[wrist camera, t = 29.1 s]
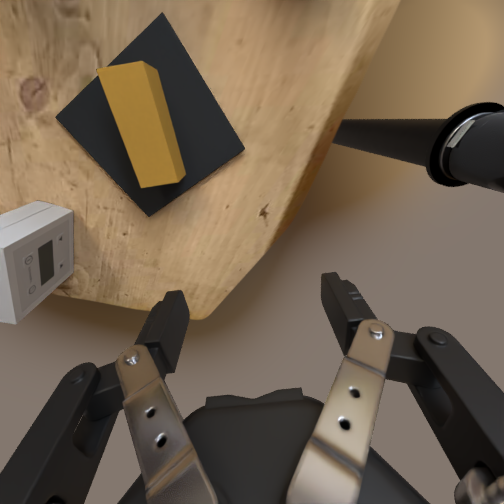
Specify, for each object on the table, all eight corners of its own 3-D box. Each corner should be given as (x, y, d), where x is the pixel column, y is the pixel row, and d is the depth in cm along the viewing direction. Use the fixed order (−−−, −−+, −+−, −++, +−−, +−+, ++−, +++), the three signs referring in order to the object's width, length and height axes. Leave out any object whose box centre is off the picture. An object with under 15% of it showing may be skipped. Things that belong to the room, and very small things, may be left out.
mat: (163, 14, 25) (162, 11, 25) (244, 148, 32) (245, 148, 32) (58, 117, 29) (54, 117, 29) (150, 215, 36) (148, 217, 36)
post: (186, 174, 33) (157, 69, 27) (178, 182, 29) (142, 60, 23) (153, 179, 33) (117, 76, 27) (141, 188, 29) (95, 68, 23)
